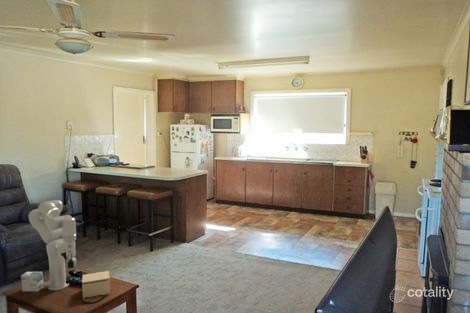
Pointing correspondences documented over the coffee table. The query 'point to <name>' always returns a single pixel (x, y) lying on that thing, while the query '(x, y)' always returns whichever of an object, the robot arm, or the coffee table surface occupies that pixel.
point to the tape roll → (73, 262)
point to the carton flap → (95, 277)
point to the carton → (96, 288)
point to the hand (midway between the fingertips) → (71, 265)
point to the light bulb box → (32, 281)
